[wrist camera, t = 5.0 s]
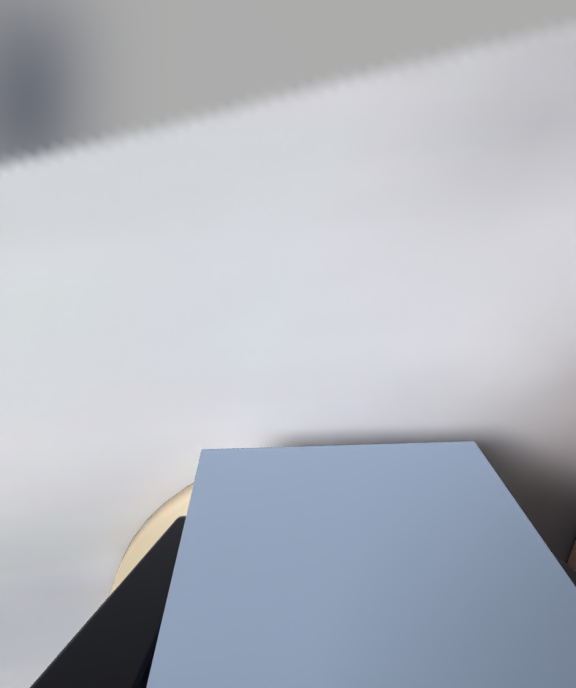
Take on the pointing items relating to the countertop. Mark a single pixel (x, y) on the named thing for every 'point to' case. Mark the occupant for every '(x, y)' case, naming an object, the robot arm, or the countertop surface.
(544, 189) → the countertop surface
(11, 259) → the countertop surface
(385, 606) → the blue open frame block
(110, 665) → the robot arm
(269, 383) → the countertop surface
